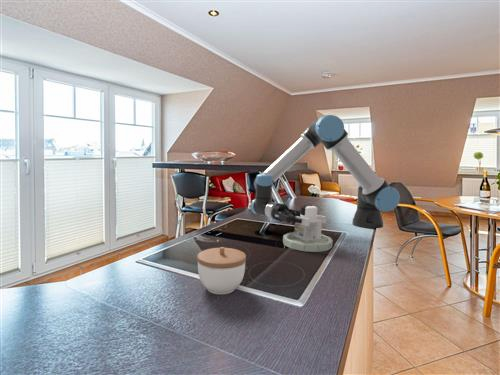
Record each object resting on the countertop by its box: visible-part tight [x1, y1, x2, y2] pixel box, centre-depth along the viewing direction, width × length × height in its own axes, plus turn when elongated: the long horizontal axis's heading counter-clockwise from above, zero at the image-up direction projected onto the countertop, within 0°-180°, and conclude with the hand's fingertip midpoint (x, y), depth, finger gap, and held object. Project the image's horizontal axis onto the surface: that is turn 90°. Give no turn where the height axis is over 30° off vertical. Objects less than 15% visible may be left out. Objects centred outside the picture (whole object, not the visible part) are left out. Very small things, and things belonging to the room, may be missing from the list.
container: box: [293, 204, 323, 241], centre depth 122 cm, size 8×8×13 cm
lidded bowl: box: [196, 246, 247, 296], centre depth 80 cm, size 13×13×11 cm
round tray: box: [282, 231, 334, 253], centre depth 123 cm, size 19×19×2 cm
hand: (317, 221), depth 118 cm, fingers closed on container, 9 cm apart
